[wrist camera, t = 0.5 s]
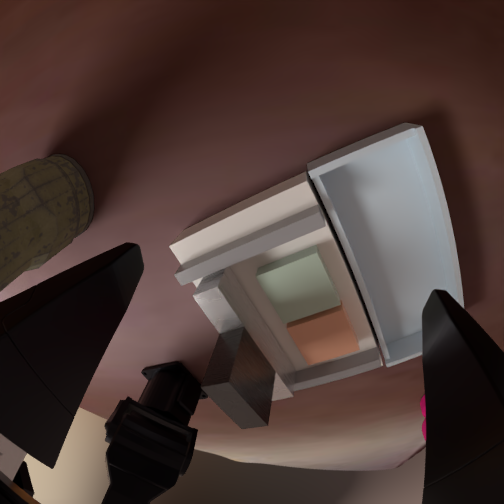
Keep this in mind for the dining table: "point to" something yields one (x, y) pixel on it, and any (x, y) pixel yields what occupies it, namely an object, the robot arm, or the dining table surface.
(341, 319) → the terracotta tile
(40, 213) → the thermos
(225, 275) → the grey panel
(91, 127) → the dining table surface
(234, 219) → the white shallow box
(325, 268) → the sage tile
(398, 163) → the tray
